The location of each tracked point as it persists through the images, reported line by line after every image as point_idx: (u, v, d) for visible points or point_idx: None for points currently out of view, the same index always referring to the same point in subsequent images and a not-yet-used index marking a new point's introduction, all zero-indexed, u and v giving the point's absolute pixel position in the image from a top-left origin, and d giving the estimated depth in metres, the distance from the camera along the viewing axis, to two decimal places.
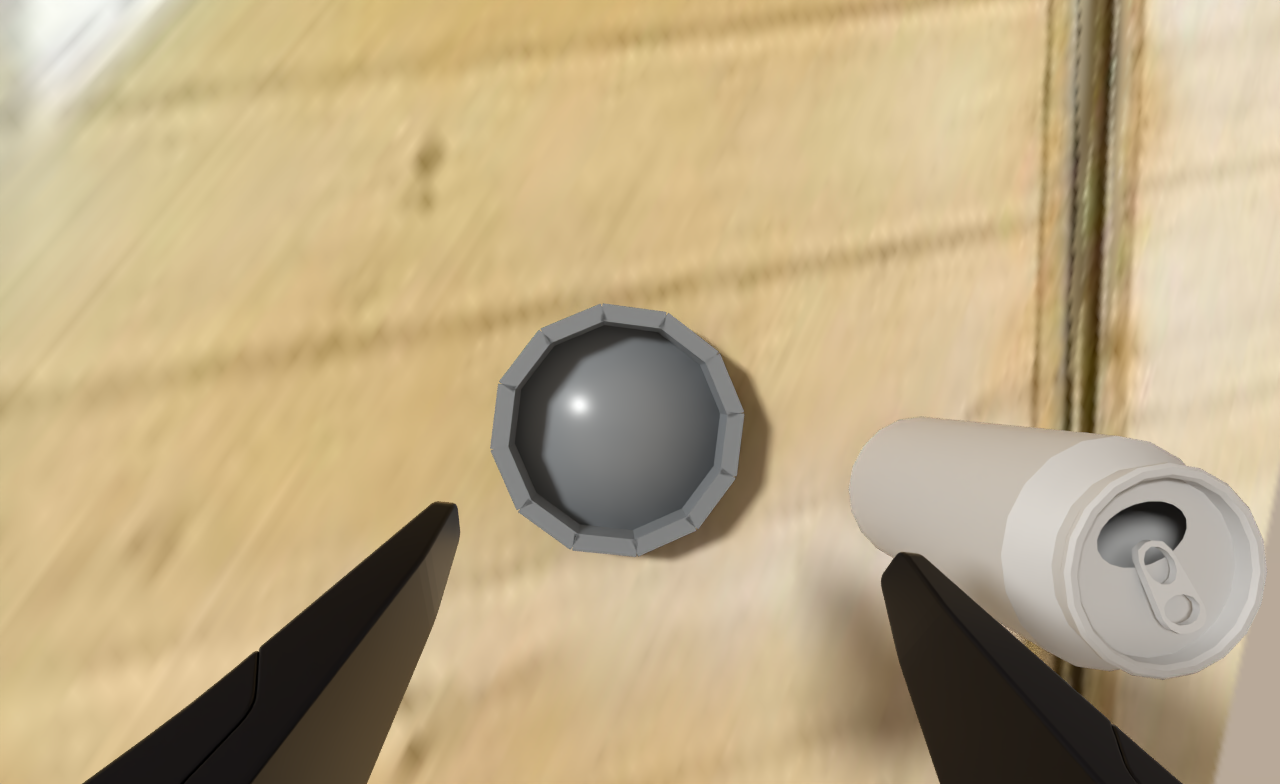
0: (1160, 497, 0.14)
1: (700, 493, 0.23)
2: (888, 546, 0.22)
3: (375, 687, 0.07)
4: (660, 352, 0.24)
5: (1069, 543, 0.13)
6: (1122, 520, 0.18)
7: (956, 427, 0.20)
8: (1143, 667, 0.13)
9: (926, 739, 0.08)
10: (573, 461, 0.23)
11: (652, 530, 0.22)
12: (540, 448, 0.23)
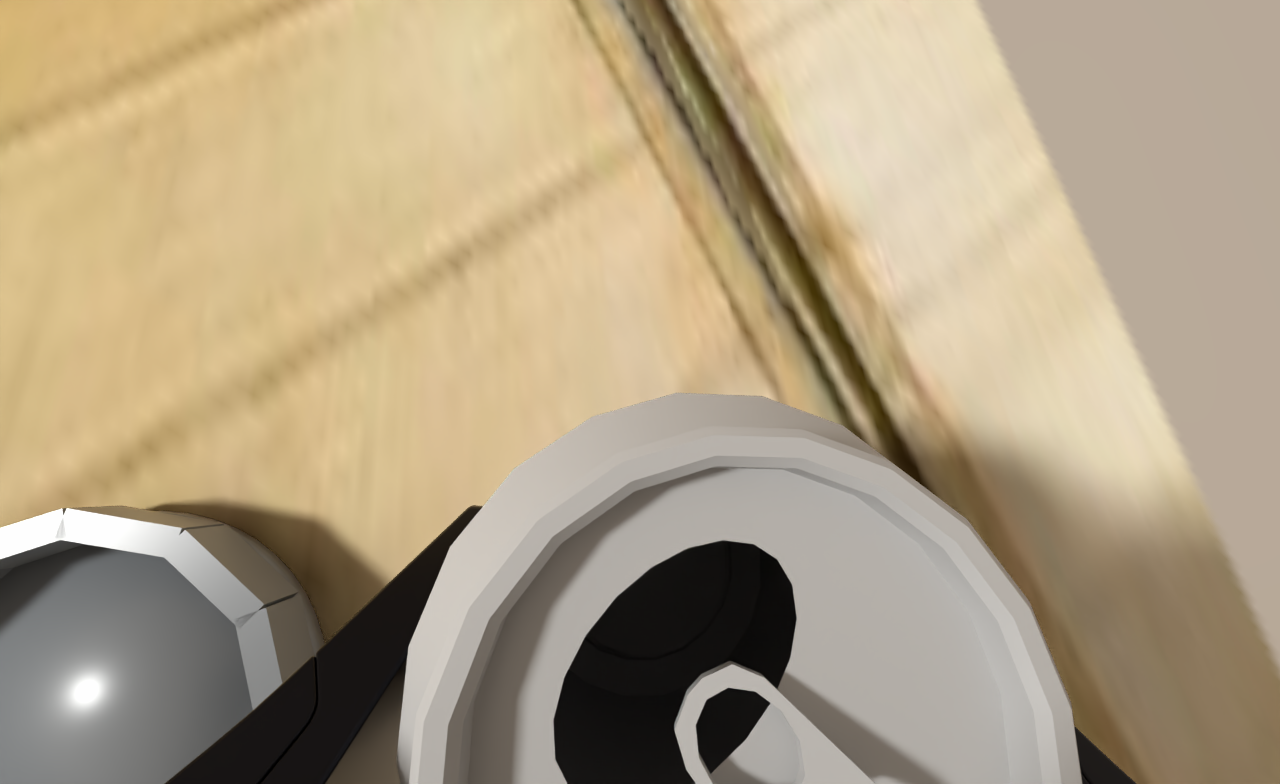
0: (680, 539, 0.05)
1: None
2: (581, 720, 0.12)
3: None
4: (131, 563, 0.14)
5: None
6: None
7: None
8: None
9: None
10: None
11: None
12: None
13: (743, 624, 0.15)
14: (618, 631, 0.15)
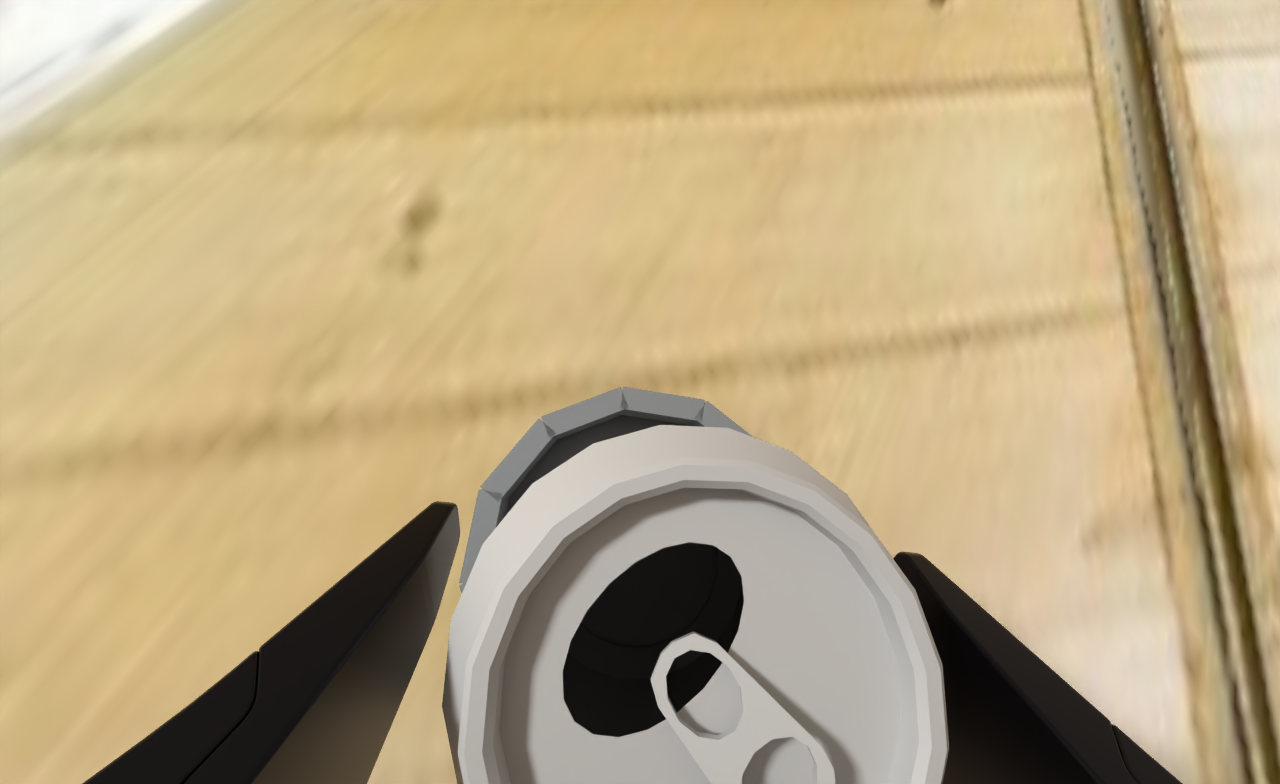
0: (658, 541, 0.07)
1: None
2: (581, 697, 0.13)
3: (375, 687, 0.07)
4: None
5: (467, 762, 0.06)
6: None
7: None
8: None
9: None
10: None
11: None
12: None
13: (727, 617, 0.17)
14: (614, 621, 0.17)
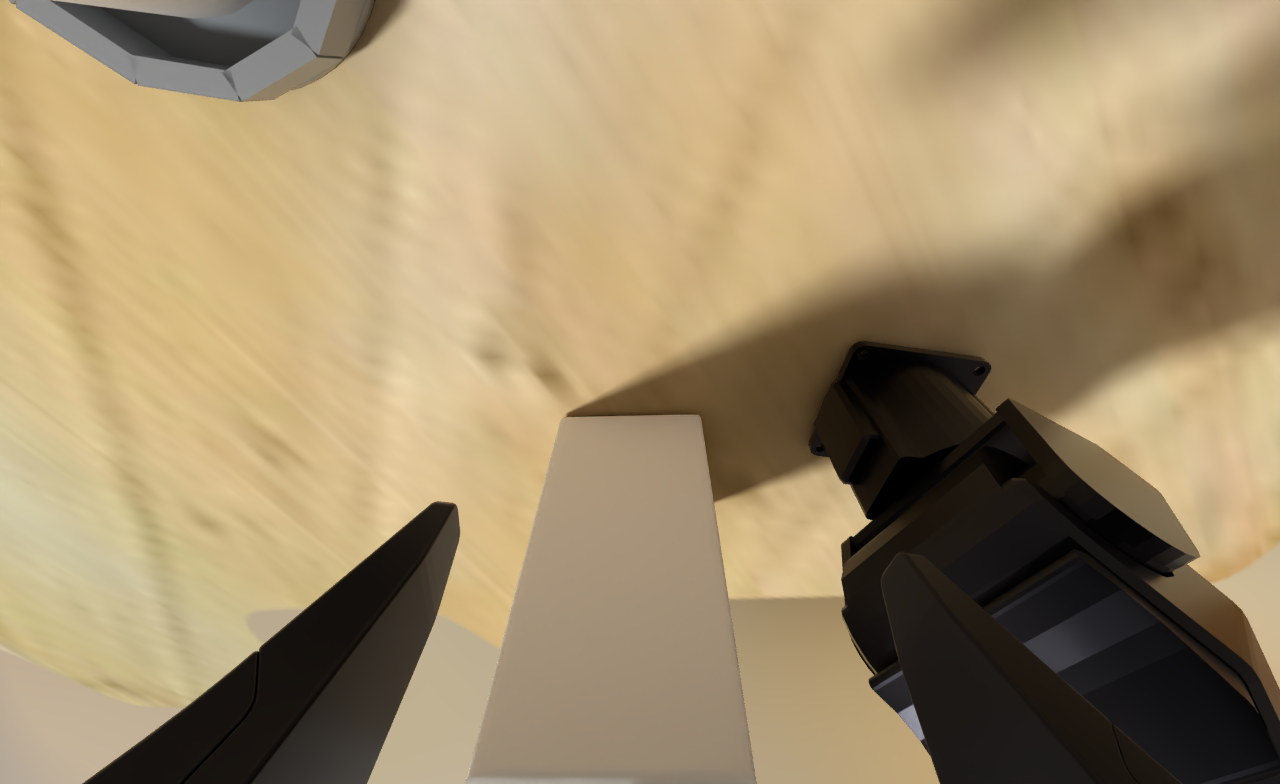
0: None
1: None
2: None
3: (375, 687, 0.07)
4: None
5: None
6: None
7: None
8: None
9: (926, 739, 0.08)
10: None
11: None
12: (185, 21, 0.15)
13: None
14: None
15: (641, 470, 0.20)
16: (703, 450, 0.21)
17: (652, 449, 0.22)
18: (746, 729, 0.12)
